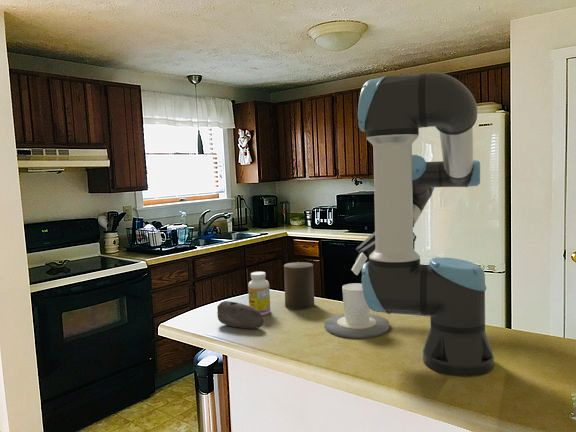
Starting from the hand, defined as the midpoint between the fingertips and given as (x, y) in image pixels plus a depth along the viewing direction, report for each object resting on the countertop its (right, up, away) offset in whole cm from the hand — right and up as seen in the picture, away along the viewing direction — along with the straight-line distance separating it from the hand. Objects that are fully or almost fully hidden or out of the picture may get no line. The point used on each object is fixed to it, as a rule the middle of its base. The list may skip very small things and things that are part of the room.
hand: (371, 276), depth 138 cm
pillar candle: (-20, -12, +20) cm, 31 cm away
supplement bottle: (-33, -14, +13) cm, 38 cm away
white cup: (-5, -13, -3) cm, 14 cm away
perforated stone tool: (-37, -15, +1) cm, 40 cm away
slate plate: (-5, -14, -3) cm, 15 cm away
